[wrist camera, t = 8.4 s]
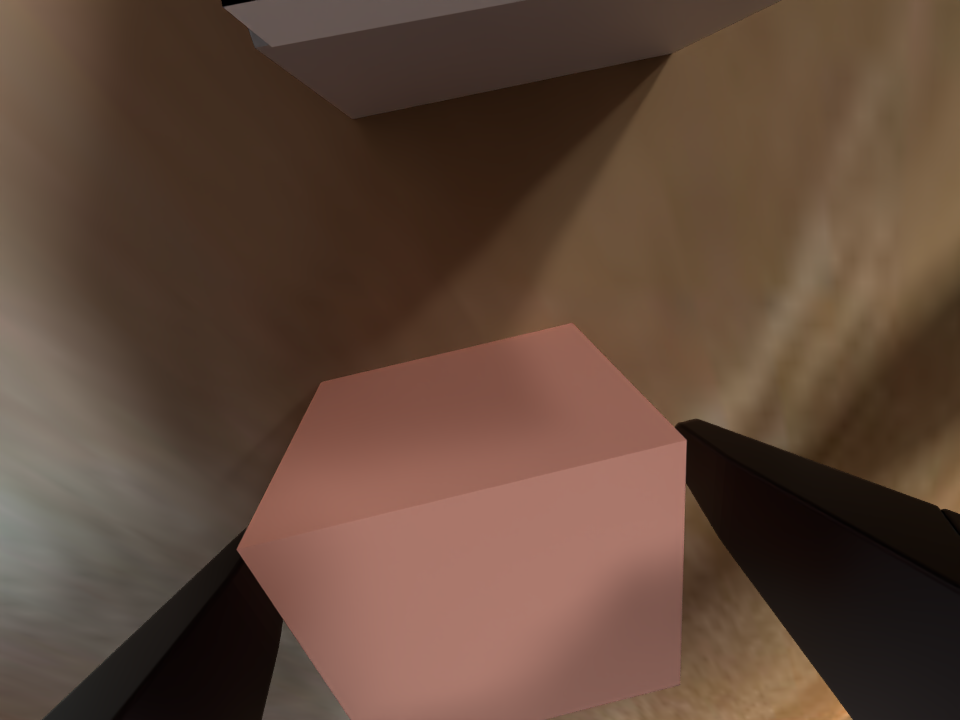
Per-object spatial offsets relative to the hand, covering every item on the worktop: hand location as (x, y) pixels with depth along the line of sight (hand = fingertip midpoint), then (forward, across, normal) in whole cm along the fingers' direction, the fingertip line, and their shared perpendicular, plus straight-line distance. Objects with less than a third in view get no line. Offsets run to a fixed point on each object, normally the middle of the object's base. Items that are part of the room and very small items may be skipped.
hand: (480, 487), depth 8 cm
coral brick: (+1, 0, 0) cm, 1 cm away
